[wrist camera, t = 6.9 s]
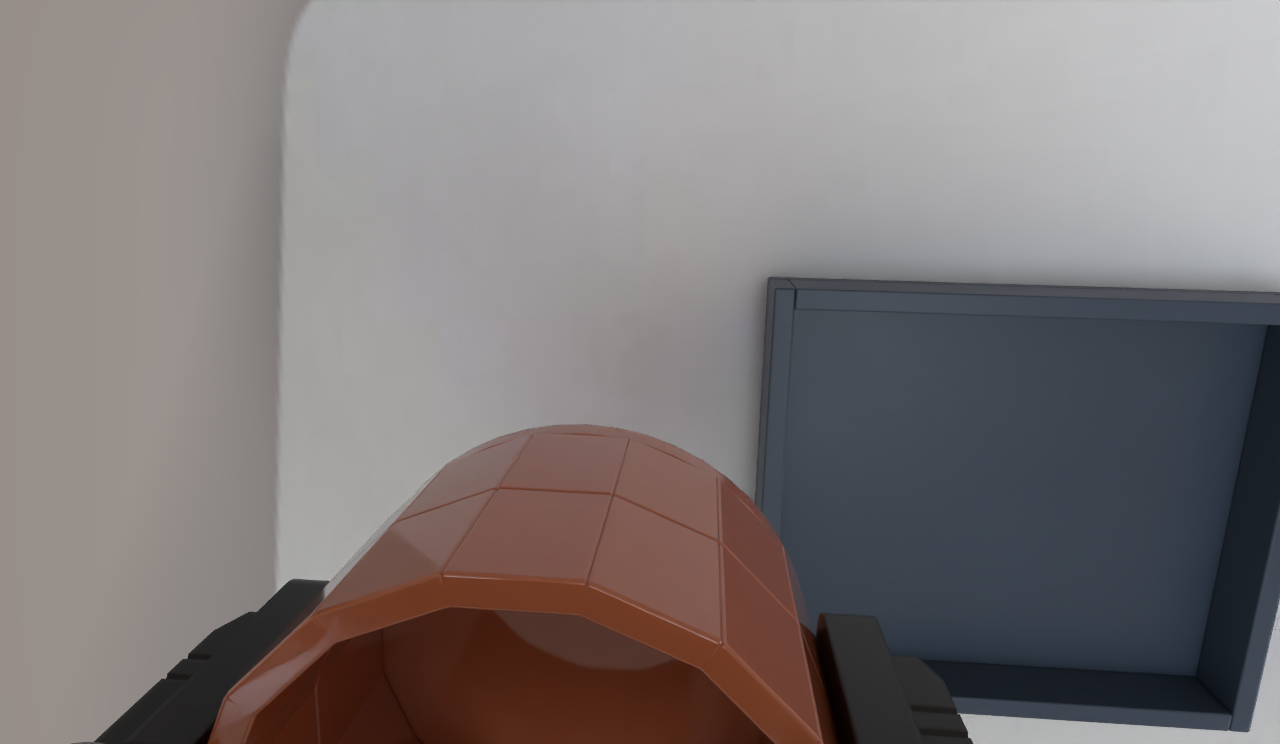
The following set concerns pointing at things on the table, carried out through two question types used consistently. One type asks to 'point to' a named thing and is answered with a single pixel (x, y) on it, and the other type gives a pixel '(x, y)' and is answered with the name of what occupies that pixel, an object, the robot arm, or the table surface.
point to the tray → (1035, 487)
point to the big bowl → (551, 612)
